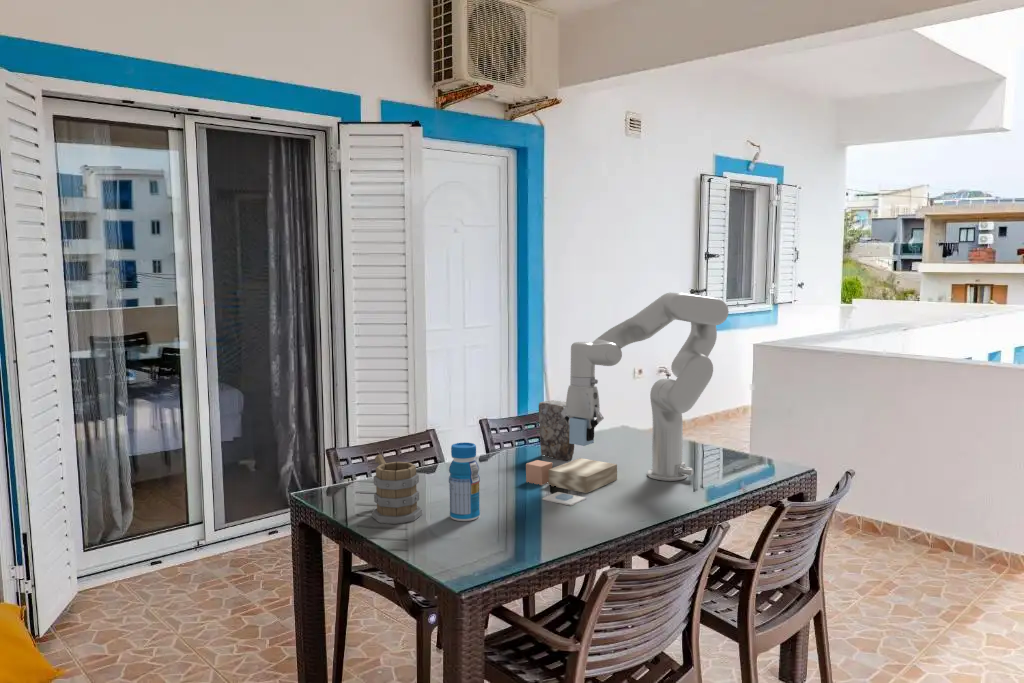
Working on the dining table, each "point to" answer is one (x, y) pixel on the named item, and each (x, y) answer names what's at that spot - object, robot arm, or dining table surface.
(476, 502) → the beverage bottle
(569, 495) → the card
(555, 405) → the stone block
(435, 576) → the dining table surface
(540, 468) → the terracotta cube
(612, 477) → the ash base block
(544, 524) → the dining table surface
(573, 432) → the blue block
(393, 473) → the tankard
